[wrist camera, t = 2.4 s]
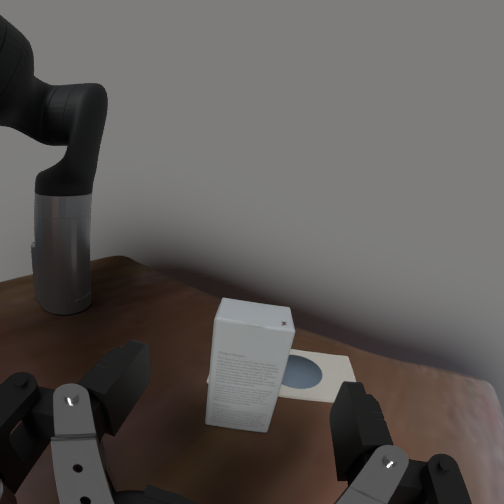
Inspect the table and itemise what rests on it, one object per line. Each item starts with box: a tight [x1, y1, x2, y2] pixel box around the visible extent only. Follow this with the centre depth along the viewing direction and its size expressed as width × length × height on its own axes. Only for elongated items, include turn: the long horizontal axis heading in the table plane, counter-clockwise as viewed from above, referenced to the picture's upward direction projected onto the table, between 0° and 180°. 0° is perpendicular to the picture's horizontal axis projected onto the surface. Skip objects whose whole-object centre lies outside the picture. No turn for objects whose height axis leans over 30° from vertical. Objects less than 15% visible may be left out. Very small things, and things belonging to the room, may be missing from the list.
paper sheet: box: [207, 349, 356, 402], centre depth 34 cm, size 18×10×1 cm, turn 84°
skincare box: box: [205, 298, 295, 433], centre depth 24 cm, size 6×4×12 cm
